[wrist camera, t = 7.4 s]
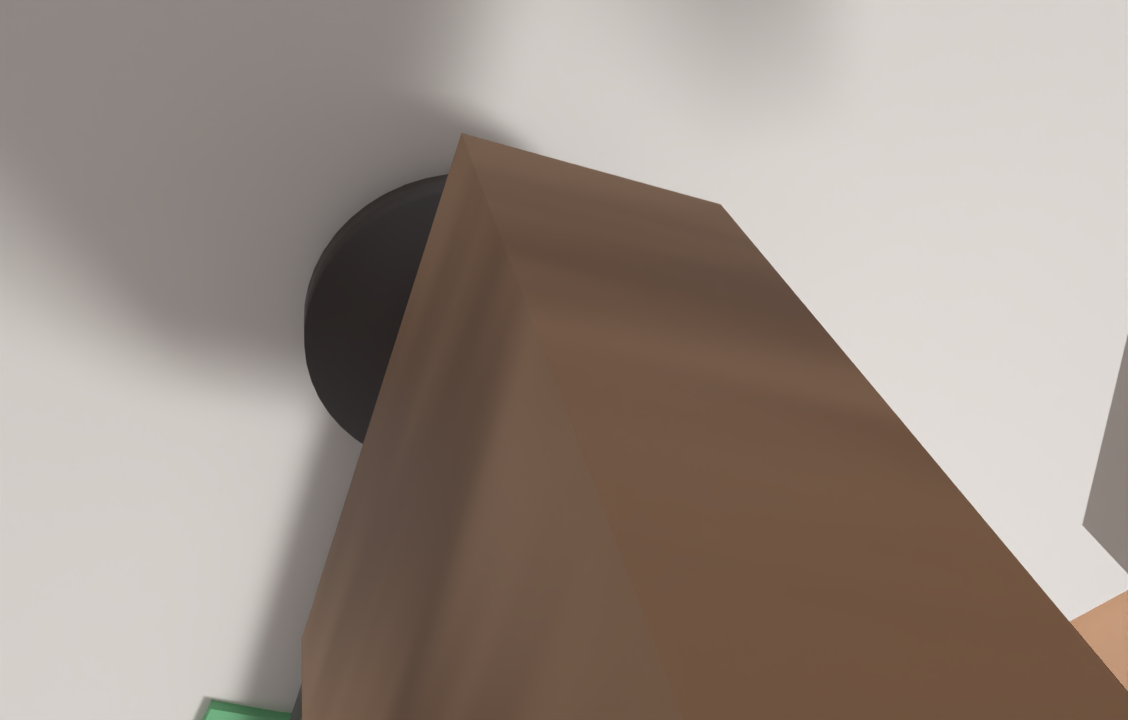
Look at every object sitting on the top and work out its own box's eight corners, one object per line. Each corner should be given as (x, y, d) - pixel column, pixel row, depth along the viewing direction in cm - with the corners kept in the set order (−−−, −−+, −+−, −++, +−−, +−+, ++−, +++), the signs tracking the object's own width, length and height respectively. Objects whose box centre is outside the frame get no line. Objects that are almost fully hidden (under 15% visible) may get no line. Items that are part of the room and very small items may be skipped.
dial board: (610, -1787, 8) (675, -2089, 7) (1197, 480, 24) (1255, 530, 22) (-1279, -203, 11) (-1522, -187, 9) (368, 936, 26) (372, 1008, 24)
